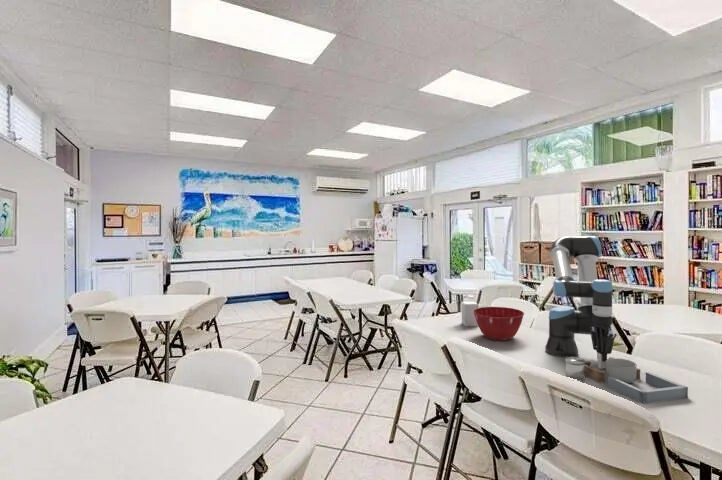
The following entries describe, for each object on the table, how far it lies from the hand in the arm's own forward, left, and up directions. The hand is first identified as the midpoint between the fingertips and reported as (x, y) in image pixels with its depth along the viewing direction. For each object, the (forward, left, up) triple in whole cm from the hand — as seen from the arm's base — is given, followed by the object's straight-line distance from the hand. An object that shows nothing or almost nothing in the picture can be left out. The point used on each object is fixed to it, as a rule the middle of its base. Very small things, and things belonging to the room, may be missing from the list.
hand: (602, 367), depth 170 cm
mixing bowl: (-61, -14, -3) cm, 63 cm away
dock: (+20, 0, -2) cm, 20 cm away
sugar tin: (+2, -16, -2) cm, 16 cm away
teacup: (+8, +1, -2) cm, 8 cm away
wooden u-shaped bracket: (+2, 0, -2) cm, 3 cm away
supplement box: (-92, -16, -3) cm, 93 cm away
